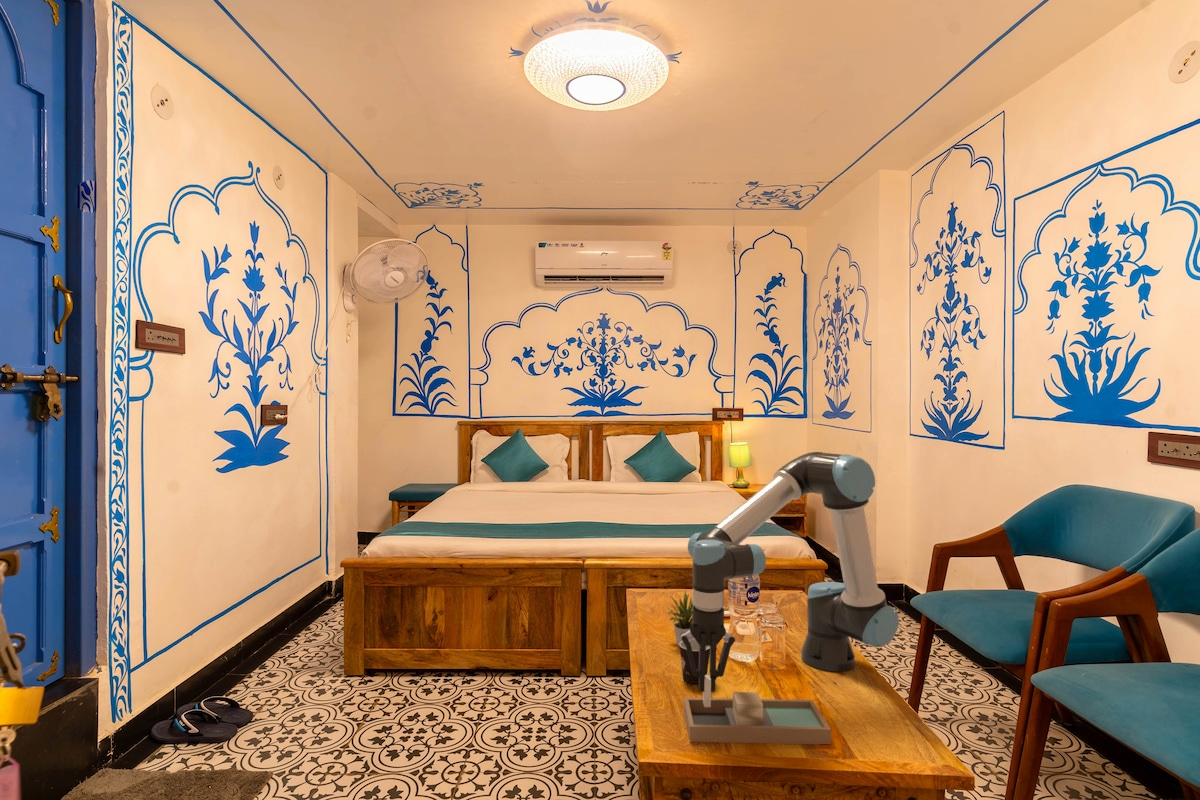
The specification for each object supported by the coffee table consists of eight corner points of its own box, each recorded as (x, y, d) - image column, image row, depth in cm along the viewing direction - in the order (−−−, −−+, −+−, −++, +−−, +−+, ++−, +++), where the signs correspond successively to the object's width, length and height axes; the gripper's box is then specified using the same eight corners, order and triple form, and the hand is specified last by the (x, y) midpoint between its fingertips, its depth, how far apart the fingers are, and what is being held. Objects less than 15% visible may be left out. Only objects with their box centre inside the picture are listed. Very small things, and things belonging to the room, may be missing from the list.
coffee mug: (709, 689, 174) (710, 652, 173) (677, 686, 175) (678, 649, 175) (711, 670, 185) (711, 636, 185) (681, 668, 187) (681, 633, 186)
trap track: (812, 713, 160) (812, 699, 160) (830, 744, 146) (831, 729, 146) (683, 711, 161) (683, 697, 161) (689, 741, 147) (689, 726, 147)
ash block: (757, 712, 157) (757, 692, 157) (762, 725, 151) (763, 704, 151) (732, 712, 157) (732, 692, 157) (737, 725, 151) (737, 704, 151)
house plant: (659, 634, 212) (659, 585, 212) (701, 635, 212) (702, 585, 212) (662, 651, 198) (662, 599, 198) (707, 652, 198) (707, 599, 198)
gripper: (732, 601, 157) (731, 697, 157) (679, 600, 158) (678, 696, 158) (738, 612, 150) (736, 712, 150) (682, 610, 150) (680, 711, 150)
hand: (706, 704), depth 154 cm, fingers closed
